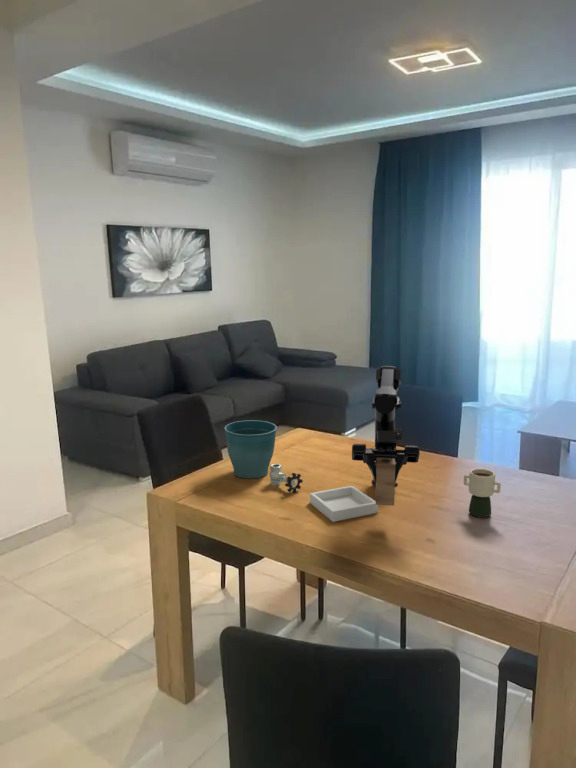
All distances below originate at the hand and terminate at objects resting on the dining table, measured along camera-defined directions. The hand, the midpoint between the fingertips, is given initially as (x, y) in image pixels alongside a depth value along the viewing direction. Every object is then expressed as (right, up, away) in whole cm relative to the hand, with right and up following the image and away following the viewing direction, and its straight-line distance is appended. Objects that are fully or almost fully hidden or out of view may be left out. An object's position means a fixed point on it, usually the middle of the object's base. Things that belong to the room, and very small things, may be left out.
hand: (385, 481), depth 160 cm
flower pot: (-40, -5, +44) cm, 60 cm away
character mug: (+29, -12, +10) cm, 33 cm away
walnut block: (0, -6, +3) cm, 7 cm away
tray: (-10, -11, +15) cm, 21 cm away
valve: (-28, -8, +32) cm, 43 cm away
